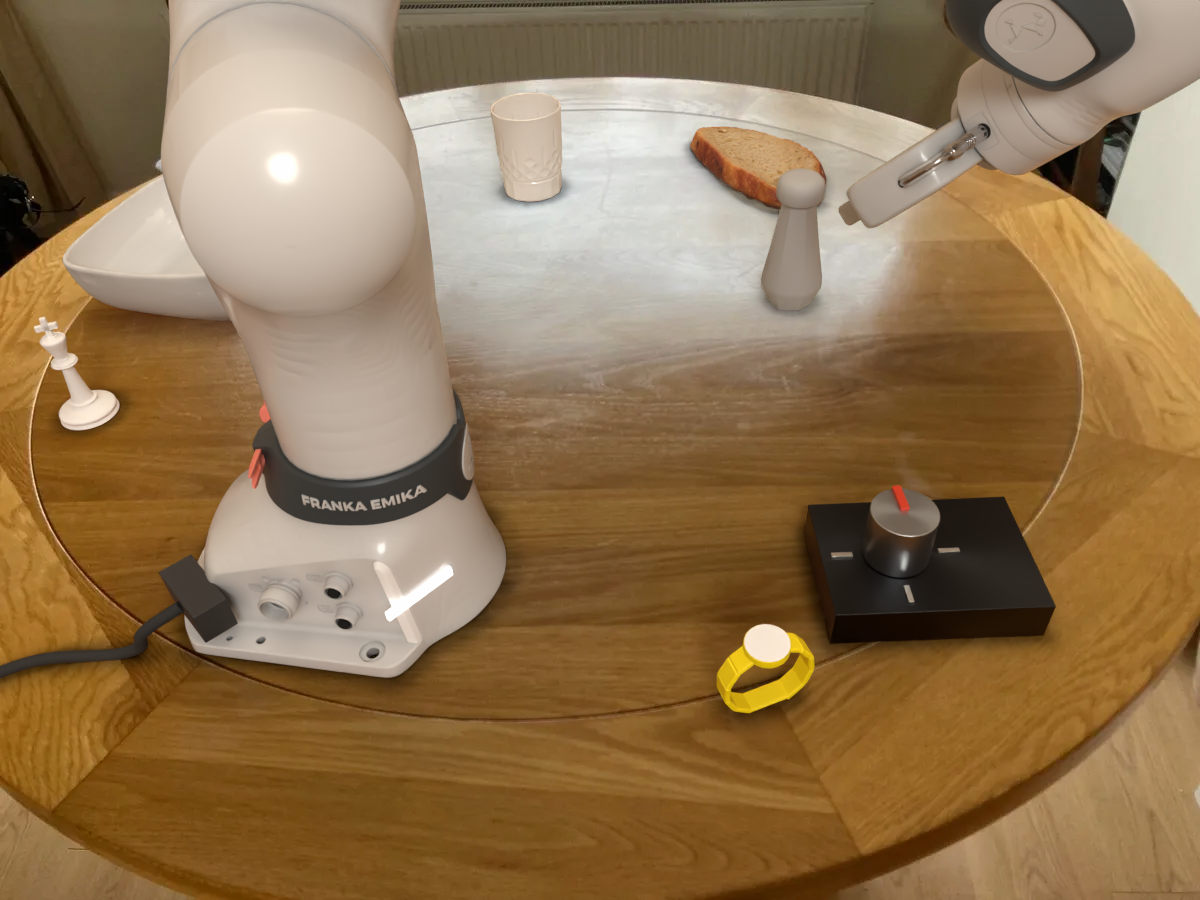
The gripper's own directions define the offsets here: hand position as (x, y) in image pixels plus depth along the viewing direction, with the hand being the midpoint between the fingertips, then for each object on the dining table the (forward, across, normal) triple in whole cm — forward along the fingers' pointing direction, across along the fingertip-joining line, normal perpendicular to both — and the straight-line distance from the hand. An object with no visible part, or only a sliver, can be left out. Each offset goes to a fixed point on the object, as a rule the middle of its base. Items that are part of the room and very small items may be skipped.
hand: (878, 193), depth 80 cm
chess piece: (+41, -54, +21) cm, 71 cm away
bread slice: (+29, +19, +9) cm, 36 cm away
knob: (-6, -25, -21) cm, 33 cm away
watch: (-3, -38, -22) cm, 44 cm away
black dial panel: (-4, -23, -24) cm, 34 cm away
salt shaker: (+15, 0, -4) cm, 16 cm away
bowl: (+49, -36, +29) cm, 67 cm away
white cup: (+41, 0, +22) cm, 47 cm away
